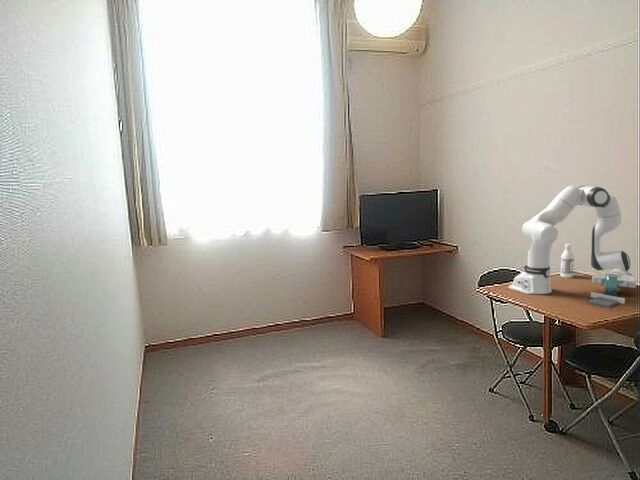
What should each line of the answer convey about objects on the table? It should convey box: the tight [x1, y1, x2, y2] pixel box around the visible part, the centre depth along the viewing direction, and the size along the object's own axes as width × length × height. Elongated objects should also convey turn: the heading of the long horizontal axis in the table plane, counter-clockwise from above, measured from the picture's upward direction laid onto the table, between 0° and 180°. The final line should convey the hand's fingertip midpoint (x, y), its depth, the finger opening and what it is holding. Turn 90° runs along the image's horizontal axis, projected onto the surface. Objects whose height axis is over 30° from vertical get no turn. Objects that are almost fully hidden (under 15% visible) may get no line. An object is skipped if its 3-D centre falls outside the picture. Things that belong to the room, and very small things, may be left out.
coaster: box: [587, 297, 619, 308], centre depth 246 cm, size 10×10×1 cm
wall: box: [590, 291, 626, 305], centre depth 250 cm, size 16×1×2 cm, turn 35°
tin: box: [604, 273, 618, 297], centre depth 253 cm, size 6×6×12 cm
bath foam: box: [560, 243, 575, 279], centre depth 297 cm, size 7×7×20 cm
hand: (611, 284), depth 254 cm, fingers open, 8 cm apart
